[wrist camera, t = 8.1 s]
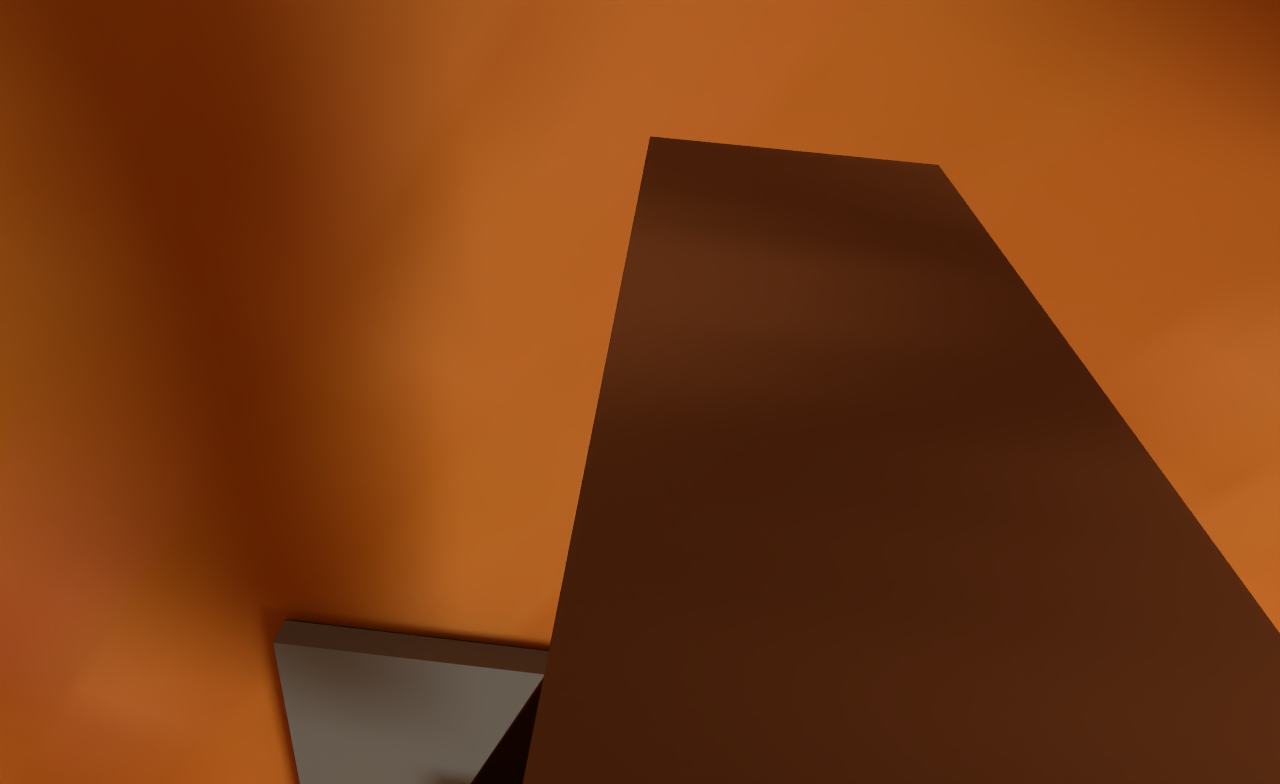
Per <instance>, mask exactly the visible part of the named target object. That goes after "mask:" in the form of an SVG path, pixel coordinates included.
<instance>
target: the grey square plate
mask: <svg viewBox="0 0 1280 784" xmlns="http://www.w3.org/2000/svg"><path fill="white" fill-rule="evenodd" d="M273 645H274V650H275V655H276V661H277V666H278V671H279V676H280V682H281V687H282V692H283V697H284V703H285V708H286V713H287V718H288V724H289V729H290V734H291V739H292V745H293V750H294V755H295V760H296V766H297V771H298V776H299V781H300V784H471V782H472V781H473V779H474V778H475V776H476V775H477V773H478V772H479V770H480V769H481V767H482V766H483V764H484V763H485V762H486V760H487V759H488V757H489V756H490V754H491V753H492V751H493V750H494V748H495V747H496V745H497V744H498V743H499V741H500V740H501V738H502V737H503V735H504V734H505V732H506V731H507V729H508V728H509V726H510V725H511V723H512V722H513V721H514V719H515V718H516V716H517V715H518V713H519V712H520V710H521V709H522V707H523V706H524V704H525V703H526V702H527V700H528V699H529V697H530V696H531V694H532V693H533V691H534V690H535V688H536V687H537V685H538V684H539V682H540V681H541V680H542V678H543V677H544V673H545V668H546V663H547V658H548V653H549V651H543V650H535V649H526V648H518V647H509V646H501V645H492V644H484V643H475V642H467V641H458V640H450V639H441V638H433V637H424V636H416V635H407V634H399V633H390V632H382V631H373V630H365V629H356V628H348V627H339V626H331V625H322V624H314V623H305V622H297V621H288V620H285V622H284V623H283V625H282V627H281V629H280V631H279V633H278V635H277V636H276V638H275V640H274V642H273Z"/></svg>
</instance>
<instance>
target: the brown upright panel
mask: <svg viewBox="0 0 1280 784" xmlns="http://www.w3.org/2000/svg"><path fill="white" fill-rule="evenodd" d="M523 784H1280V633H1279V632H1278V630H1277V629H1276V628H1275V626H1274V625H1273V623H1272V622H1271V621H1270V619H1269V618H1268V617H1267V615H1266V614H1265V612H1264V611H1263V610H1262V608H1261V607H1260V606H1259V604H1258V603H1257V602H1256V600H1255V599H1254V597H1253V596H1252V595H1251V593H1250V592H1249V591H1248V589H1247V588H1246V586H1245V585H1244V584H1243V582H1242V581H1241V580H1240V578H1239V577H1238V575H1237V574H1236V573H1235V571H1234V570H1233V569H1232V567H1231V566H1230V564H1229V563H1228V562H1227V560H1226V559H1225V558H1224V556H1223V555H1222V553H1221V552H1220V551H1219V549H1218V548H1217V547H1216V545H1215V544H1214V543H1213V541H1212V540H1211V538H1210V537H1209V536H1208V534H1207V533H1206V532H1205V530H1204V529H1203V527H1202V526H1201V525H1200V523H1199V522H1198V521H1197V519H1196V518H1195V516H1194V515H1193V514H1192V512H1191V511H1190V510H1189V508H1188V507H1187V505H1186V504H1185V503H1184V501H1183V500H1182V499H1181V497H1180V496H1179V494H1178V493H1177V492H1176V490H1175V489H1174V488H1173V486H1172V485H1171V484H1170V482H1169V481H1168V479H1167V478H1166V477H1165V475H1164V474H1163V473H1162V471H1161V470H1160V468H1159V467H1158V466H1157V464H1156V463H1155V462H1154V460H1153V459H1152V457H1151V456H1150V455H1149V453H1148V452H1147V451H1146V449H1145V448H1144V446H1143V445H1142V444H1141V442H1140V441H1139V440H1138V438H1137V437H1136V435H1135V434H1134V433H1133V431H1132V430H1131V429H1130V427H1129V426H1128V425H1127V423H1126V422H1125V420H1124V419H1123V418H1122V416H1121V415H1120V414H1119V412H1118V411H1117V409H1116V408H1115V407H1114V405H1113V404H1112V403H1111V401H1110V400H1109V398H1108V397H1107V396H1106V394H1105V393H1104V392H1103V390H1102V389H1101V387H1100V386H1099V385H1098V383H1097V382H1096V381H1095V379H1094V378H1093V376H1092V375H1091V374H1090V372H1089V371H1088V370H1087V368H1086V367H1085V365H1084V364H1083V363H1082V361H1081V360H1080V359H1079V357H1078V356H1077V355H1076V353H1075V352H1074V350H1073V349H1072V348H1071V346H1070V345H1069V344H1068V342H1067V341H1066V339H1065V338H1064V337H1063V335H1062V334H1061V333H1060V331H1059V330H1058V328H1057V327H1056V326H1055V324H1054V323H1053V322H1052V320H1051V319H1050V317H1049V316H1048V315H1047V313H1046V312H1045V311H1044V309H1043V308H1042V306H1041V305H1040V304H1039V302H1038V301H1037V300H1036V298H1035V297H1034V296H1033V294H1032V293H1031V291H1030V290H1029V289H1028V287H1027V286H1026V285H1025V283H1024V282H1023V280H1022V279H1021V278H1020V276H1019V275H1018V274H1017V272H1016V271H1015V269H1014V268H1013V267H1012V265H1011V264H1010V263H1009V261H1008V260H1007V258H1006V257H1005V256H1004V254H1003V253H1002V252H1001V250H1000V249H999V247H998V246H997V245H996V243H995V242H994V241H993V239H992V238H991V237H990V235H989V234H988V232H987V231H986V230H985V228H984V227H983V226H982V224H981V223H980V221H979V220H978V219H977V217H976V216H975V215H974V213H973V212H972V210H971V209H970V208H969V206H968V205H967V204H966V202H965V201H964V199H963V198H962V197H961V195H960V194H959V193H958V191H957V190H956V188H955V187H954V186H953V184H952V183H951V182H950V180H949V179H948V177H947V176H946V175H945V173H944V172H943V171H942V169H941V168H940V167H939V165H933V164H922V163H912V162H902V161H892V160H882V159H872V158H862V157H852V156H842V155H832V154H822V153H811V152H801V151H791V150H781V149H771V148H761V147H751V146H741V145H731V144H721V143H710V142H700V141H690V140H680V139H670V138H660V137H650V140H649V145H648V150H647V155H646V160H645V165H644V170H643V176H642V181H641V186H640V191H639V196H638V201H637V206H636V211H635V216H634V221H633V226H632V231H631V236H630V242H629V247H628V252H627V257H626V262H625V267H624V272H623V277H622V282H621V287H620V292H619V297H618V303H617V308H616V313H615V318H614V323H613V328H612V333H611V338H610V343H609V348H608V353H607V358H606V363H605V369H604V374H603V379H602V384H601V389H600V394H599V399H598V404H597V409H596V414H595V419H594V424H593V429H592V435H591V440H590V445H589V450H588V455H587V460H586V465H585V470H584V475H583V480H582V485H581V490H580V495H579V501H578V506H577V511H576V516H575V521H574V526H573V531H572V536H571V541H570V546H569V551H568V556H567V561H566V567H565V572H564V577H563V582H562V587H561V592H560V597H559V602H558V607H557V612H556V617H555V622H554V628H553V633H552V638H551V643H550V648H549V653H548V658H547V663H546V668H545V673H544V678H543V683H542V688H541V694H540V699H539V704H538V709H537V714H536V719H535V724H534V729H533V734H532V739H531V744H530V749H529V754H528V760H527V765H526V770H525V775H524V780H523Z"/></svg>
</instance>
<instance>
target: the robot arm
mask: <svg viewBox="0 0 1280 784" xmlns="http://www.w3.org/2000/svg"><path fill="white" fill-rule="evenodd" d="M543 678H544V677H543ZM543 678H542V680H541V681H540V682H539V684H538V685H537V687H536V688H535V690H534V691H533V693H532V694H531V696H530V697H529V699H528V700H527V702H526V703H525V704H524V706H523V707H522V709H521V710H520V712H519V713H518V715H517V716H516V718H515V719H514V721H513V722H512V723H511V725H510V726H509V728H508V729H507V731H506V732H505V734H504V735H503V737H502V738H501V740H500V741H499V743H498V744H497V745H496V747H495V748H494V750H493V751H492V753H491V754H490V756H489V757H488V759H487V760H486V762H485V763H484V764H483V766H482V767H481V769H480V770H479V772H478V773H477V775H476V776H475V778H474V779H473V781H472V782H471V784H523V780H524V775H525V770H526V765H527V760H528V754H529V749H530V744H531V739H532V734H533V729H534V724H535V719H536V714H537V709H538V704H539V699H540V694H541V688H542V683H543Z"/></svg>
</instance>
